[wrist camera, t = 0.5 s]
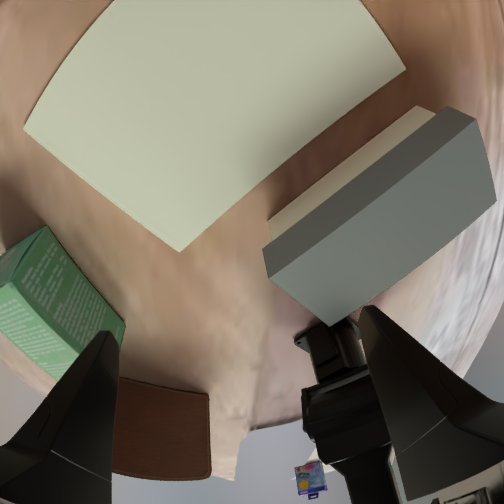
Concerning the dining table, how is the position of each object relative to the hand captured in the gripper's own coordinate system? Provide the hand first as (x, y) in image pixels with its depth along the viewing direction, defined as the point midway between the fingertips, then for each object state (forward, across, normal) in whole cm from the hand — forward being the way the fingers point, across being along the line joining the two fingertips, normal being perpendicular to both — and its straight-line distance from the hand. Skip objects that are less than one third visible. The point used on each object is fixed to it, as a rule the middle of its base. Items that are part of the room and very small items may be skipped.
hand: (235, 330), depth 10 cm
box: (+13, +17, +9) cm, 23 cm away
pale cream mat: (+13, +1, -8) cm, 15 cm away
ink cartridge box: (+16, -17, +107) cm, 109 cm away
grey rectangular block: (+10, -10, +2) cm, 14 cm away
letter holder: (+14, +17, +31) cm, 38 cm away
